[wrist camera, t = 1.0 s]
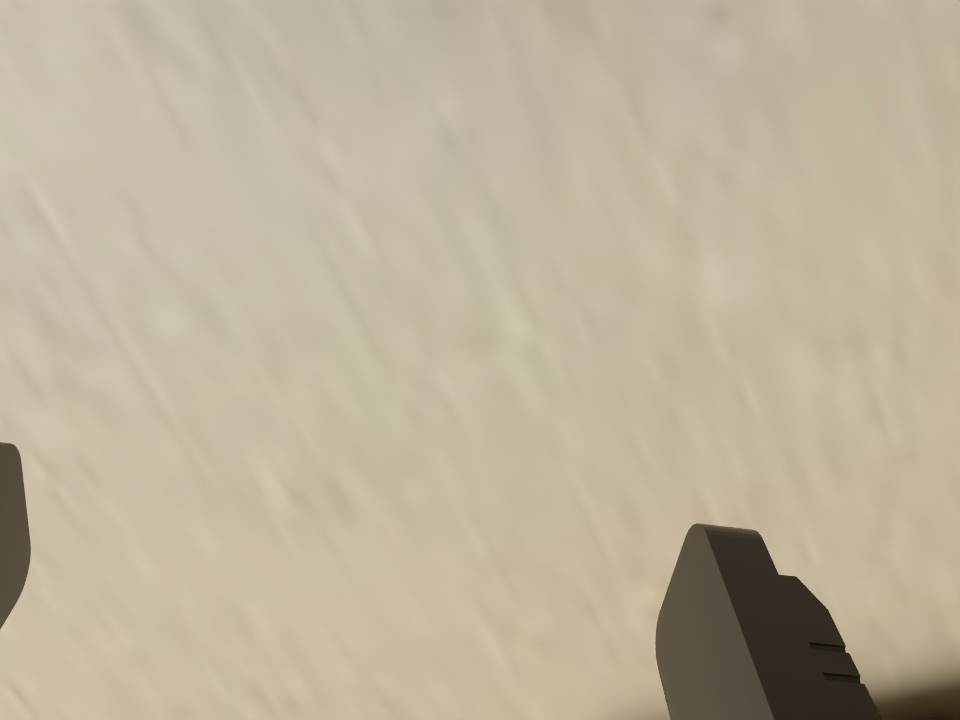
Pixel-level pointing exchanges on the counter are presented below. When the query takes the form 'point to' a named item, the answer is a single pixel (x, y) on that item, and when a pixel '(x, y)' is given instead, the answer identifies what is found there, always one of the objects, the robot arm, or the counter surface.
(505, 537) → the counter surface
